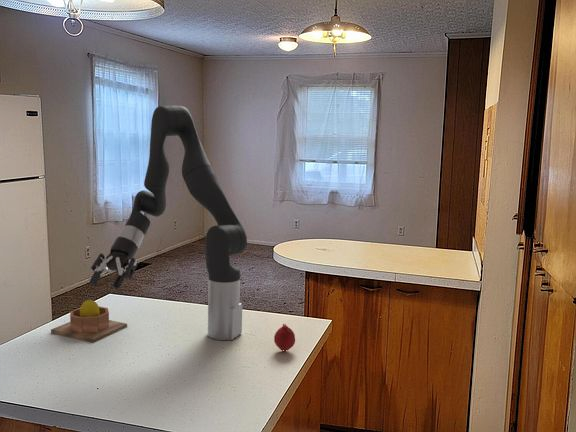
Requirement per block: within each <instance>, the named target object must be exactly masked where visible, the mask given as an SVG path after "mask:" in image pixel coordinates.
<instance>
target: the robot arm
mask: <svg viewBox="0 0 576 432" xmlns="http://www.w3.org/2000/svg"><path fill="white" fill-rule="evenodd" d="M151 117H152V118H151V123H150V139H149V140H150V141H149V156H148V157H149V158H148V165H147V168H146V173H145V178H144V181H143V186H144V188H145V189H146V190H144V189H143V190H140V191H138V192H137V193H136V195H135V197H134V200H133V206H132V211H131V213H130V215H129V217H128V219H127V221H126V223H125V224H124V226H123V228H122V229H121V230H120V232H119V234H118V235H117V237H116V238H115V240H114V242H113V244H112V245H111V246H110V251H109V254H107V255H104V254H103V253H100V254H99V255H98V256H97V258H96V259H95V261H94V263H93V264H92V265H91V267H90V269H91V270H92V271H93V274H92V276H91V278H90V280H89V281H90V284H91V285H92V286H96V285H97V283H98V282H99V281H100V278H101V276H102V275H103V274H104V273H108V272H110V271H113V272H114V271H115V272H118V275H117V276H116V278H115V280H114V282H113V283H112V288H113V289H114V290H118V289H119V288H120V287H121V286H122V284H123V282H124V280H125V279H131V278H132V277H133V276H134V273H135V271H136V269H137V267H138V265H139V262H138V261H137V260H136V259H135V258H134V257H135V256H136V253H137V252H138V250H139V249H140V247H141V244H142V242H143V240H144V237H145V235H146V234H147V231H148V230H149V228H150V226H151V221H150V218H148V216H146V215H144V214H143V213H145V214H147V215H150V216H153V217H155V218H156V217H160V216H162V215H163V214H164V213H165V210H166V206H167V197H166V185H167V182H168V178H169V174H170V162H169V161H168V158H167V154H166V152H165V147H164V146H165V142H166V138H167V137H169V136H170V137H171V136H172V137H173V136H174V137H175V136H178V137H179V139H180V140H181V142H182V145H183V148H184V156H183V160H182V164H181V174H182V179H183V181H184V183H185V185H186V188H187V190H188V192H189V193H190V196H192V198H194V199H195V200H196V201H197V202H198V203H199V204H200V205H201V206H202V207H203V208H204V209H205V210H207V211H208V212H209V213H210V214H211V216H212V217H213V218H214V220H215V222H216V224H217V225H213V226H211V227H210V228H209V229H208V230H207V232H206V235H205V243H204V244H205V264H206V265H205V266H206V270H207V274H208V286H207V287H208V289H207V290H208V291H207V294H208V297H207V303H208V305H207V336H208V337H209V338H210V339H213V340H218V341H227V340H228V341H233V340H235V339H236V338H237V336H238V335H239V334H240V335H242V334H243V333H242V331H243V303H242V302H240V299H241V296H240V295H241V293H240V292H241V270H240V268H238V267H237V266H234V265H231V262H230V256H234V255H238V254H240V253H242V252H244V251H245V250H246V248H247V245H248V237H247V233H246V231H245V229H244V227H243V225H242V224H241V221H240V219H239V218H238V216H237V215H236V213H235V212H234V210H233V208H232V207H231V204H230V203H229V200H228V198H227V197H226V195H225V193H224V190H223V189H222V187H221V184H220V182H219V180H218V178H217V177H218V176H217V175H216V173H215V171H214V169H213V167H212V165H211V163H210V161H209V159H208V157H207V153H206V152H205V150H204V147H203V145H202V142H201V140H200V137H199V135H198V132H197V128H196V126H195V123H194V119H193V117H192V115H191V112H190V111H189V109H188V108H187V107H185V106H183V105H159V106H157V107H156V108H155V109H154V111H153V113H152V116H151ZM106 266H107V267H106ZM241 333H242V334H241ZM240 335H239V336H240ZM239 336H238V337H239ZM235 337H236V338H235ZM234 338H235V339H234Z"/></svg>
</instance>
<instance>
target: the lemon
mask: <svg viewBox="0 0 576 432" xmlns="http://www.w3.org/2000/svg"><path fill="white" fill-rule="evenodd" d="M80 307H81V308H80ZM80 307H79V308H80V317H94V316H99V314H100V311H99V304H98V303H97V302H96V301H95V300H93V299H92V300H91V299H88V300H86V301H84V302H83V303H82V304H81V305H80Z"/></svg>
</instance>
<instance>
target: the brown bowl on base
mask: <svg viewBox="0 0 576 432" xmlns="http://www.w3.org/2000/svg"><path fill="white" fill-rule="evenodd" d="M98 306H99V305H98ZM80 308H81V306H80V307H78V308H75V309H73V310H70V313H69V319H70V321H69V322H66V323H63V324H60V325H59V326H58V325H57V326H56V327H54V328H51V329H50V333H52V334H55V335H59V336H63V337H69V338H73V339H77V340H81V341H86V342H90V343H95V342H98V341H101V340H102V339H104V338H107V337H109V336H110V335H113V334H116V333H117V332H119V331H122V330H123V329H126V328H128V323H126V322H121V321H116V320H110V311H109V308H108V307H103V306H99V311H100V314H99V316H94V317H80Z"/></svg>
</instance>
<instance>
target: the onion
mask: <svg viewBox="0 0 576 432" xmlns="http://www.w3.org/2000/svg"><path fill="white" fill-rule="evenodd" d="M273 340H274V341H273V342H274V344H275V346H277V348H278V349H279V350H280V351H281V350H284V351H285V352H287V351H289V350H291V348H293V347H294V345H295V343H296V335H295V333H294V331H293V330H292V329H291V328H290V327H289V326H288V325H287V324H285V323H283V324H282V326H281V327H280V328H278V329H277V330H276V332H275V333H274V336H273ZM286 350H287V351H286Z"/></svg>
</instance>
